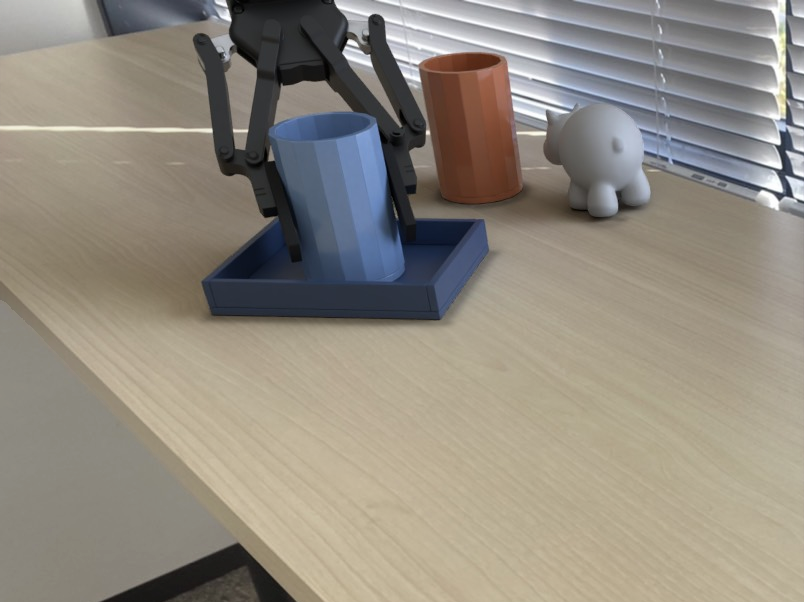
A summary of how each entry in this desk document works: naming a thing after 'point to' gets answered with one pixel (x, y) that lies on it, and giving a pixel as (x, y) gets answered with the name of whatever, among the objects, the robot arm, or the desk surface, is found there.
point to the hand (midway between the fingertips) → (354, 242)
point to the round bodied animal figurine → (598, 157)
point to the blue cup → (338, 196)
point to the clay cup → (472, 126)
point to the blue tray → (403, 298)
